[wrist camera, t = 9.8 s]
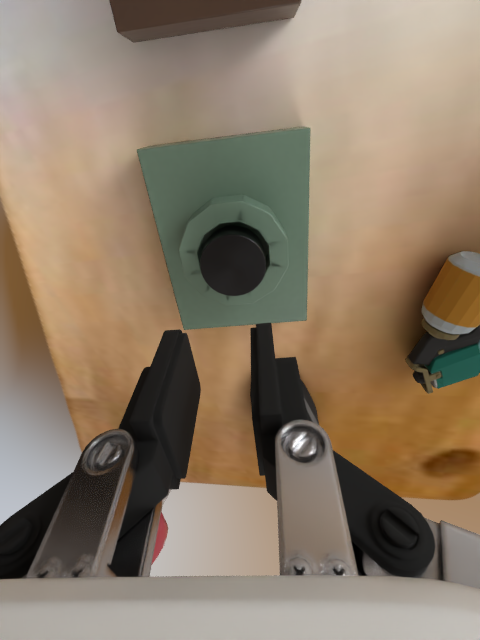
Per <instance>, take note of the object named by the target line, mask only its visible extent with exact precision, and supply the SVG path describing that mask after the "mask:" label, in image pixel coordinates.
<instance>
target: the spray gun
mask: <svg viewBox="0 0 480 640" xmlns="http://www.w3.org/2000/svg"><path fill="white" fill-rule="evenodd" d="M422 314H423V316H424V318H423V320H422V326H423V327H424V329H425V330H427V331H428V332H426V333H425V334H424V335H423V336H422V338H421V339H420V340H419V342H418V343H417V345H416V346H415V347H414V349H413V350H412V351H411V353H410V354H409V355H408V356H407V358H406V359H405V360H406V363H407V364H408V365H409V367H410V368H411V369H413V370H415V371H414V373H413V377H414V379H415V380H416V382H417V383H420V384H421V385H422V387H423V388H424V390H425V391H426V392H427V393H428V394H429V393H432V392H433V390H432V386H433V387H435V388H441V387H444V386H447V385H450V384H453V383H456V382H459V381H463V380H466V379H469V378H472V377H475V376H477V375H478V374H479V373H480V254H479V253H474V252H468V251H462V252H459V253H456V254H453V255H450V256H449V257H448V258H447V260H446V262H445V264H444V265H443V267H442V269H441V271H440V273H439V274H438V276H437V278H436V280H435V281H434V283H433V285H432V287H431V289H430V290H429V292H428V294H427V296H426V297H425V299H424V301H423V306H422ZM431 384H432V386H431Z"/></svg>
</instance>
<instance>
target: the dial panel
mask: <svg viewBox="0 0 480 640" xmlns="http://www.w3.org/2000/svg"><path fill="white" fill-rule="evenodd" d="M300 3H301V0H110V5H111V9H112V13H113V17H114V21H115V25H116V29H117V32H118V33H120V34H121V35H123V36H124V37H126V38H127V39H129V40H130V41H132V42H140V41H146V40H153V39H159V38H166V37H172V36H179V35H185V34H191V33H198V32H204V31H211V30H217V29H224V28H230V27H236V26H243V25H249V24H256V23H262V22H269V21H275V20H282V19H288V18H293V17H294V16H295V14H296V12H297V10H298V8H299V6H300Z"/></svg>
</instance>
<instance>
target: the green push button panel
mask: <svg viewBox="0 0 480 640" xmlns="http://www.w3.org/2000/svg"><path fill="white" fill-rule="evenodd" d="M137 153H138V157H139V161H140V164H141V168H142V172H143V176H144V180H145V184H146V187H147V191H148V195H149V199H150V203H151V206H152V210H153V214H154V218H155V222H156V225H157V229H158V233H159V237H160V241H161V245H162V248H163V252H164V256H165V260H166V264H167V267H168V271H169V275H170V279H171V283H172V286H173V290H174V294H175V298H176V302H177V306H178V309H179V313H180V317H181V321H182V325H183V328H184V330H188V329H201V328H214V327H227V326H240V325H254V324H258V323H280V322H293V321H306V320H307V282H308V227H309V172H310V128H307V127H295V128H287V129H279V130H272V131H264V132H256V133H248V134H240V135H232V136H224V137H216V138H208V139H201V140H193V141H185V142H177V143H169V144H161V145H153V146H148V147H144V148H141V149H138V150H137ZM227 226H240V227H244V228H246V229H248V230H250V231H252V232H253V233H254V234H256V235H257V236H258V238H259V239H260V240H261V242H262V244H263V247H264V250H265V258H266V272H265V276H264V278H263V280H262V282H261V283H260V284H259V285H258V286H257V287H256V288H255V289H254V290H252V291H251V292H249V293H247V294H244V295H240V296H228V295H224V294H221V293H218V292H216V291H215V290H213V289H212V288H211V287H210V286H209V285H208V284H207V283H206V282H205V280H204V278H203V276H202V274H201V270H200V259H201V255H202V252H203V249H204V246H205V243H206V241H207V240H208V238H209V237H210V236H211V235H212V234H213V233H214V232H215V231H217V230H218V229H221V228H223V227H227Z"/></svg>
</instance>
